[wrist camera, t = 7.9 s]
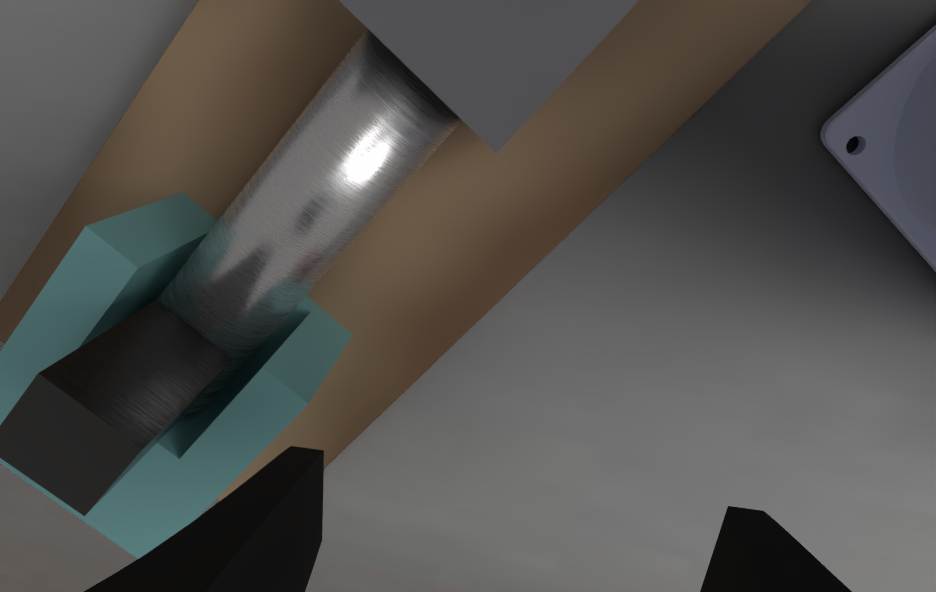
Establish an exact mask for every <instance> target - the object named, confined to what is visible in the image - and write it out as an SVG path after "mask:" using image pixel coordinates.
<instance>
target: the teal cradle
mask: <svg viewBox="0 0 936 592" xmlns="http://www.w3.org/2000/svg"><path fill="white" fill-rule="evenodd" d="M216 223H217V220H216V219H215V218H213V217H212V216H211V215H210V214H209V213H208V212H206V211H205V210H204V209H203V208H202V207H200V206H199V205H198V204H197V203H196V202H194V201H193V200H192V199H191V198H190V197H188V196H187V195H186V194H185V193H184V192H182V193H179V194H176V195H173V196H170V197H168V198H165V199H162V200H159V201H156V202H153V203H150V204H147V205H145V206H142V207H139V208H136V209H133V210H130V211H127V212H124V213H121V214H119V215H116V216H113V217H110V218H107V219H104V220H101V221H98V222H96V223H93V224H90V225H87V226H85V228H84V229H83V231H82V232H81V233H80V235H79V236H78V238H77V239H76V241H75V242H74V244H73V245H72V247H71V248H70V250H69V251H68V253H67V254H66V255H65V257H64V258H63V260H62V261H61V263H60V264H59V266H58V267H57V269H56V270H55V272H54V273H53V275H52V276H51V277H50V279H49V280H48V282H47V283H46V285H45V286H44V288H43V289H42V291H41V292H40V294H39V295H38V297H37V298H36V299H35V301H34V302H33V304H32V305H31V307H30V308H29V310H28V311H27V313H26V314H25V316H24V317H23V319H22V320H21V321H20V323H19V324H18V326H17V327H16V329H15V330H14V332H13V333H12V335H11V336H10V338H9V339H8V341H7V342H6V343H5V345H4V346H3V348H2V349H1V351H0V425H1V424H2V422H3V421H4V420H5V418H6V417H7V415H8V414H9V413H10V411H11V410H12V408H13V407H14V406H15V404H16V403H17V402H18V400H19V399H20V397H21V396H22V395H23V393H24V392H25V391H26V389H27V388H28V386H29V385H30V384H31V382H32V381H33V380H34V378H35V377H36V375H37V374H38V373H39V372H41V371H42V370H44V369H46V368H47V367H49V366H50V365H52V364H54V363H55V362H57V361H59V360H60V359H62V358H63V357H65V356H67V355H68V354H70V353H71V352H73V351H75V350H76V349H78V348H79V347H81V346H83V345H84V344H86V343H88V342H89V341H91V340H92V339H94V338H96V337H97V336H99V335H100V334H102V333H104V332H105V331H107V330H109V329H110V328H112V327H113V326H115V325H117V324H118V323H120V322H121V321H123V320H125V319H126V318H128V317H130V316H131V315H133V314H134V313H136V312H138V311H139V310H141V309H142V308H144V307H146V306H147V305H149V304H150V303H152V302H154V301H155V300H157V299H158V297H159V296H160V295H161V294H162V292H163V291H164V290H165V288H166V287H167V286H168V285H169V283H170V282H171V281H172V279H173V278H174V277H175V275H176V274H177V273H178V272H179V270H180V269H181V268H182V266H183V265H184V264H185V263H186V261H187V260H188V259H189V257H190V256H191V255H192V254H193V252H194V251H195V250H196V248H197V247H198V246H199V245H200V243H201V242H202V241H203V239H204V238H205V237H206V236H207V234H208V233H209V232H210V230H211V229H212V228H213V226H214V225H215V224H216ZM351 337H352V334H351V333H350V332H349V331H348V330H347V329H345V328H344V327H343V326H342V325H341V324H339V323H338V322H337V321H336V320H335V319H333V318H332V317H331V316H330V315H329V314H328V313H326V312H325V311H324V310H323V309H322V308H320V307H319V306H318V305H317V304H316V303H314V302H313V301H312V300H311V299H310V298H308V297H307V296H306V297H305V298H304V299H303V300H302V301H301V303H300V304H299V305H298V306H297V307H296V308H295V309H294V310H293V312H292V313H291V314H290V315H289V316H288V317H287V318H286V319H285V321H284V322H283V323H282V324H281V325H280V326H279V327H278V328H277V330H276V331H275V332H274V333H273V334H272V335H271V336H270V337H269V339H268V340H267V341H266V342H265V343H264V344H263V345H262V346H261V348H260V349H259V350H258V351H257V352H256V353H255V354H254V355H253V357H252V358H251V359H250V360H249V361H248V362H247V363H246V364H245V366H244V367H243V368H242V369H241V370H240V371H239V372H238V373H237V374H236V376H235V377H234V378H233V379H232V380H231V381H230V382H229V383H228V385H227V386H226V387H225V388H224V389H223V390H222V391H221V392H220V394H219V395H218V396H217V397H216V398H215V399H214V400H213V401H212V403H211V404H210V405H209V406H208V407H207V408H206V409H205V410H204V411H203V412H202V413H201V414H200V415H198V416H197V417H194V418H192V419H188V420H182V421H178V422H177V423H176V424H175V425H174V426H173V427H172V428H171V429H170V430H169V431H168V432H167V433H166V434H165V435H164V436H163V437H162V438H161V439H160V440H159V441H158V442H157V443H156V444H155V445H154V446H153V447H152V448H151V449H150V450H149V451H148V452H147V453H146V454H145V455H144V456H143V457H142V458H141V459H140V461H139V462H138V463H137V464H136V465H135V466H134V467H133V468H132V469H131V470H130V471H129V472H128V473H127V474H126V475H125V476H124V477H123V478H122V479H121V480H120V481H119V482H118V483H117V484H116V485H115V486H114V487H113V488H112V489H111V490H110V491H109V492H108V493H107V494H106V495H105V496H104V497H103V498H102V499H101V500H100V501H99V502H98V503H97V504H96V505H95V506H94V507H93V508H92V509H91V510H90V511H89V512H88V513H87V514H86V515H85V516H83V515H82V514H80V513H79V512H77V511H76V510H74V509H73V508H72V507H70V506H69V505H67V504H66V503H64V502H63V501H61V500H60V499H59V498H57V497H56V496H54V495H53V494H51V493H50V492H48V491H47V490H46V489H44V488H43V487H41V486H40V485H38V484H37V483H35V482H34V481H33V480H31V479H30V478H28V477H27V476H25V475H24V474H22V473H21V472H20V471H18V470H17V469H15V468H14V467H12V466H11V465H9V464H8V463H7V462H5V461H4V460H2V459H1V458H0V464H1V465H3V466H4V467H6V468H7V469H9V470H10V471H11V472H13V473H14V474H16V475H17V476H19V477H20V478H22V479H23V480H24V481H26V482H27V483H29V484H30V485H32V486H33V487H35V488H36V489H38V490H39V491H40V492H42V493H43V494H45V495H46V496H48V497H49V498H51V499H52V500H53V501H55V502H56V503H58V504H59V505H61V506H62V507H64V508H65V509H66V510H68V511H69V512H71V513H72V514H74V515H75V516H77V517H78V518H80V519H81V520H82V521H84V522H85V523H87V524H88V525H90V526H91V527H93V528H94V529H95V530H97V531H98V532H100V533H101V534H103V535H104V536H106V537H107V538H108V539H110V540H111V541H113V542H114V543H116V544H117V545H119V546H120V547H121V548H123V549H124V550H126V551H127V552H129V553H130V554H132V555H133V556H135V557H136V558H137V559H139V558H141V557H142V556H144V555H145V554H147V553H148V552H150V551H151V550H152V549H154V548H155V547H157V546H158V545H160V544H161V543H163V542H164V541H165V540H167V539H168V538H170V537H171V536H173V535H174V534H176V533H177V532H178V531H180V530H181V529H183V528H184V527H186V526H187V525H189V524H190V523H191V522H193V521H194V520H196V519H197V518H198V517H199V516H200V515H201V514H202V513H203V512H204V511H205V510H206V509H207V508H208V507H209V506H210V505H211V504H212V503H213V502H214V501H215V500H216V499H217V498H218V497H219V496H220V495H221V494H222V493H223V492H224V490H225V489H226V488H227V487H228V486H229V485H230V484H231V483H232V482H233V481H234V480H235V479H236V478H237V477H238V476H239V475H240V474H241V473H242V472H243V471H244V470H245V469H246V468H247V467H248V466H249V465H250V464H251V463H252V462H253V461H254V460H255V459H256V458H257V457H258V456H259V454H260V453H261V452H262V451H263V450H264V449H265V448H266V447H267V446H268V445H269V444H270V443H271V442H272V441H273V440H274V439H275V438H276V437H277V436H278V435H279V434H280V433H281V432H282V431H283V430H284V429H285V428H286V427H287V426H288V425H289V424H290V423H291V422H292V421H293V419H294V418H295V417H296V416H297V415H298V414H299V413H300V412H301V411H302V410H303V409H304V408H305V407H306V406H307V405H308V404H309V402H310V401H311V399H312V398H313V396H314V395H315V393H316V391H317V390H318V388H319V387H320V385H321V384H322V382H323V381H324V379H325V377H326V376H327V374H328V373H329V371H330V370H331V368H332V366H333V365H334V363H335V362H336V360H337V359H338V357H339V355H340V354H341V352H342V351H343V349H344V348H345V346H346V344H347V343H348V341H349V340H350V338H351Z"/></svg>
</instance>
